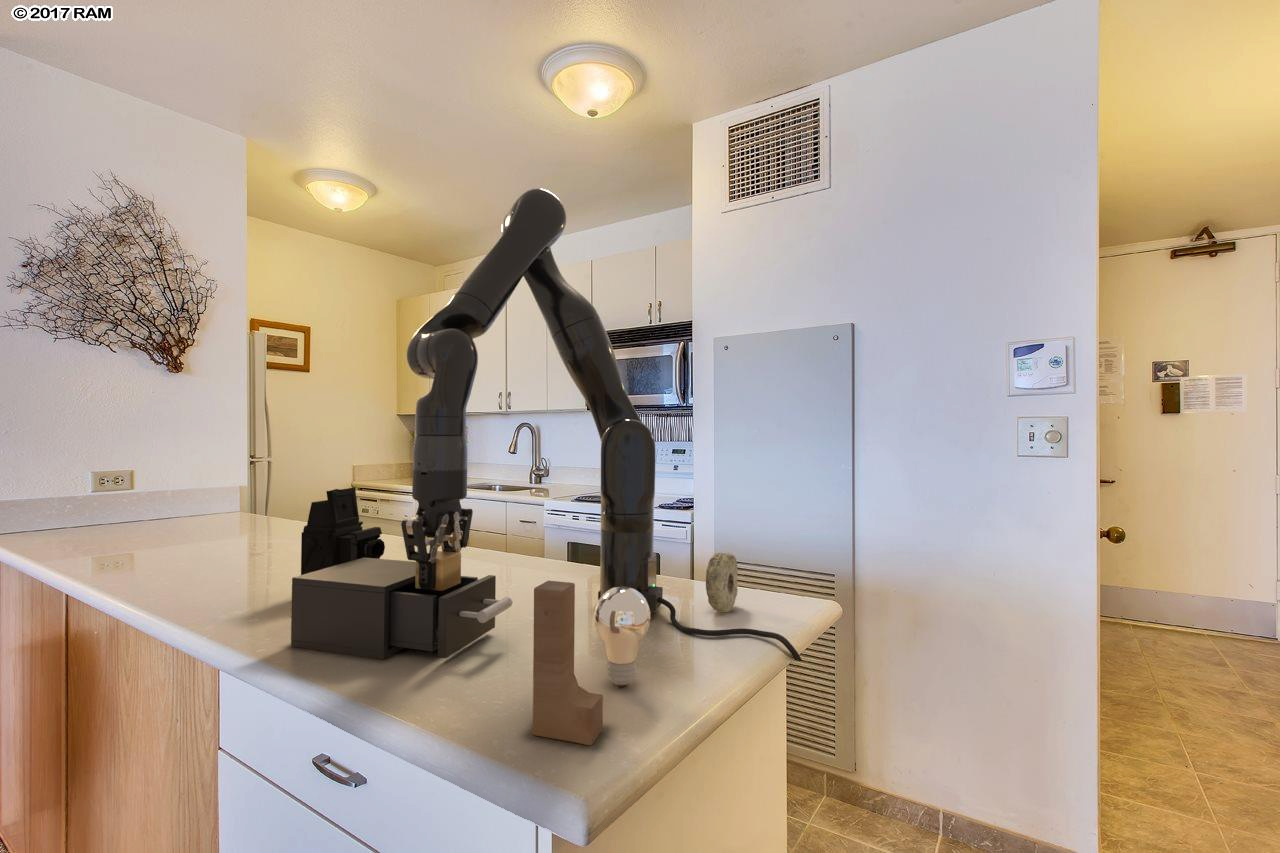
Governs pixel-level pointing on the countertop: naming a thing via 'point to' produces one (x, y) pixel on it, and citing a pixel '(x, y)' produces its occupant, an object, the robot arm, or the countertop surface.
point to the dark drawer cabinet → (348, 606)
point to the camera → (337, 533)
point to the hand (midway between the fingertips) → (438, 583)
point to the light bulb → (622, 630)
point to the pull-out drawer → (443, 615)
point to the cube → (444, 570)
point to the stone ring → (722, 581)
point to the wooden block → (560, 671)
